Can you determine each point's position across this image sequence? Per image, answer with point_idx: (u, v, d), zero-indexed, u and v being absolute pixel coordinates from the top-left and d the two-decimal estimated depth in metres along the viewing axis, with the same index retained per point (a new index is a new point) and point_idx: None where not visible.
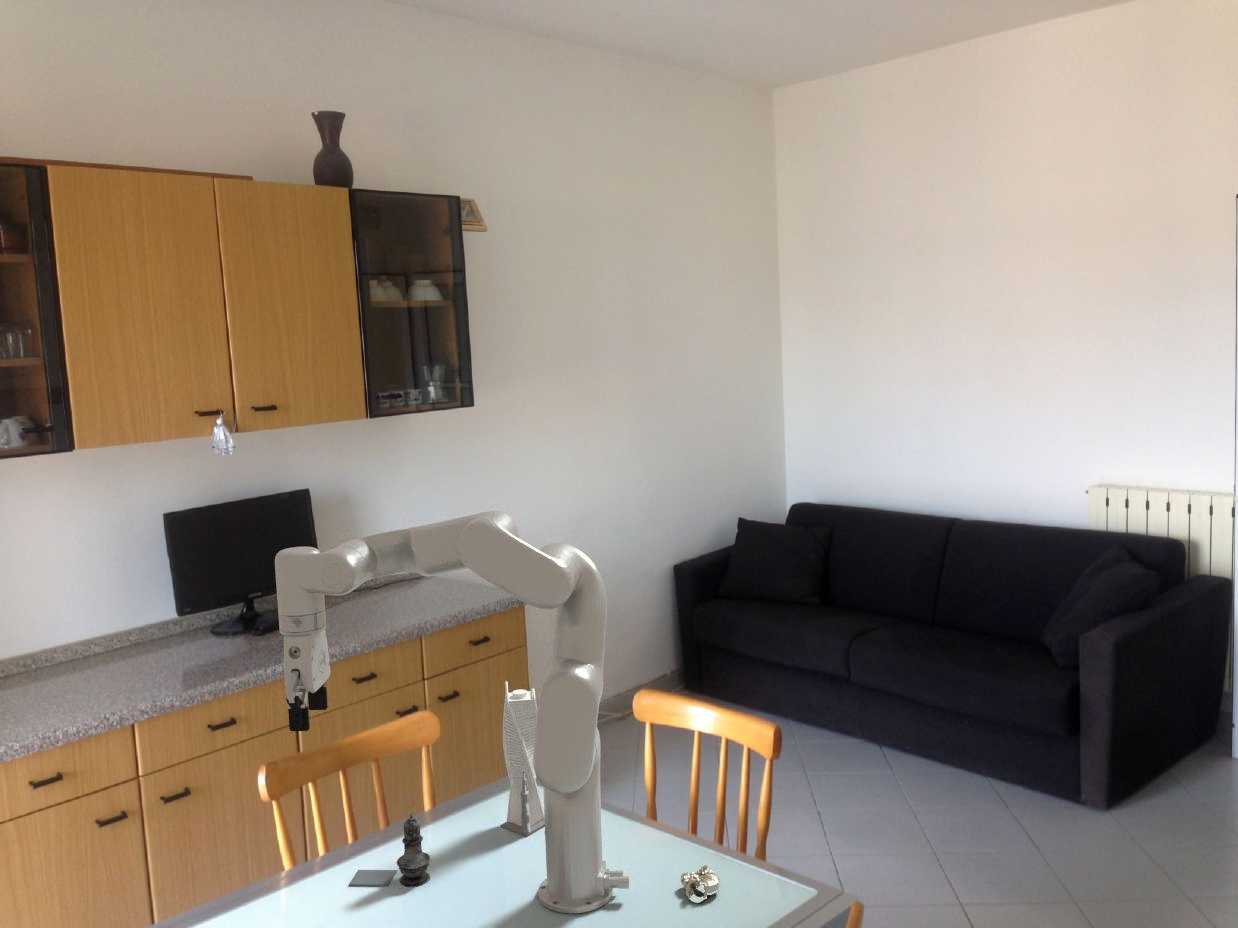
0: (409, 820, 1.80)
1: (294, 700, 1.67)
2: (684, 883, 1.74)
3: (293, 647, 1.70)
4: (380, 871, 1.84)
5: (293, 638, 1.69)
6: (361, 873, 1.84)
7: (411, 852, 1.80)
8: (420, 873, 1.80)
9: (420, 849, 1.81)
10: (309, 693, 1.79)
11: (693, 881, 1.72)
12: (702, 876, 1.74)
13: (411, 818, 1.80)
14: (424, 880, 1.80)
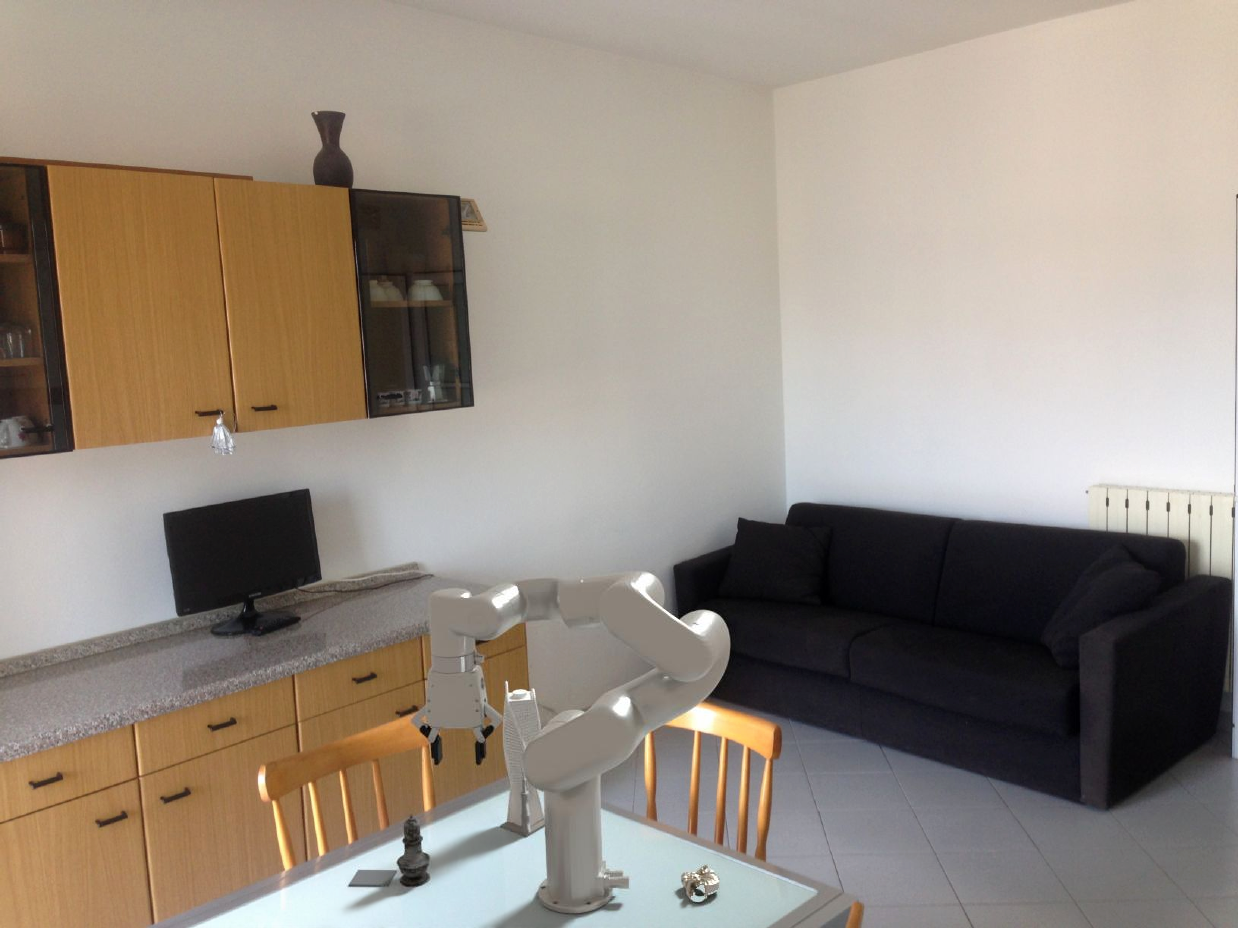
0: (409, 820, 1.80)
1: None
2: (684, 883, 1.74)
3: None
4: (380, 871, 1.84)
5: (479, 671, 1.76)
6: (361, 873, 1.84)
7: (411, 852, 1.80)
8: (420, 873, 1.80)
9: (420, 849, 1.81)
10: (438, 747, 1.77)
11: (693, 881, 1.72)
12: (702, 876, 1.74)
13: (411, 818, 1.80)
14: (424, 880, 1.80)
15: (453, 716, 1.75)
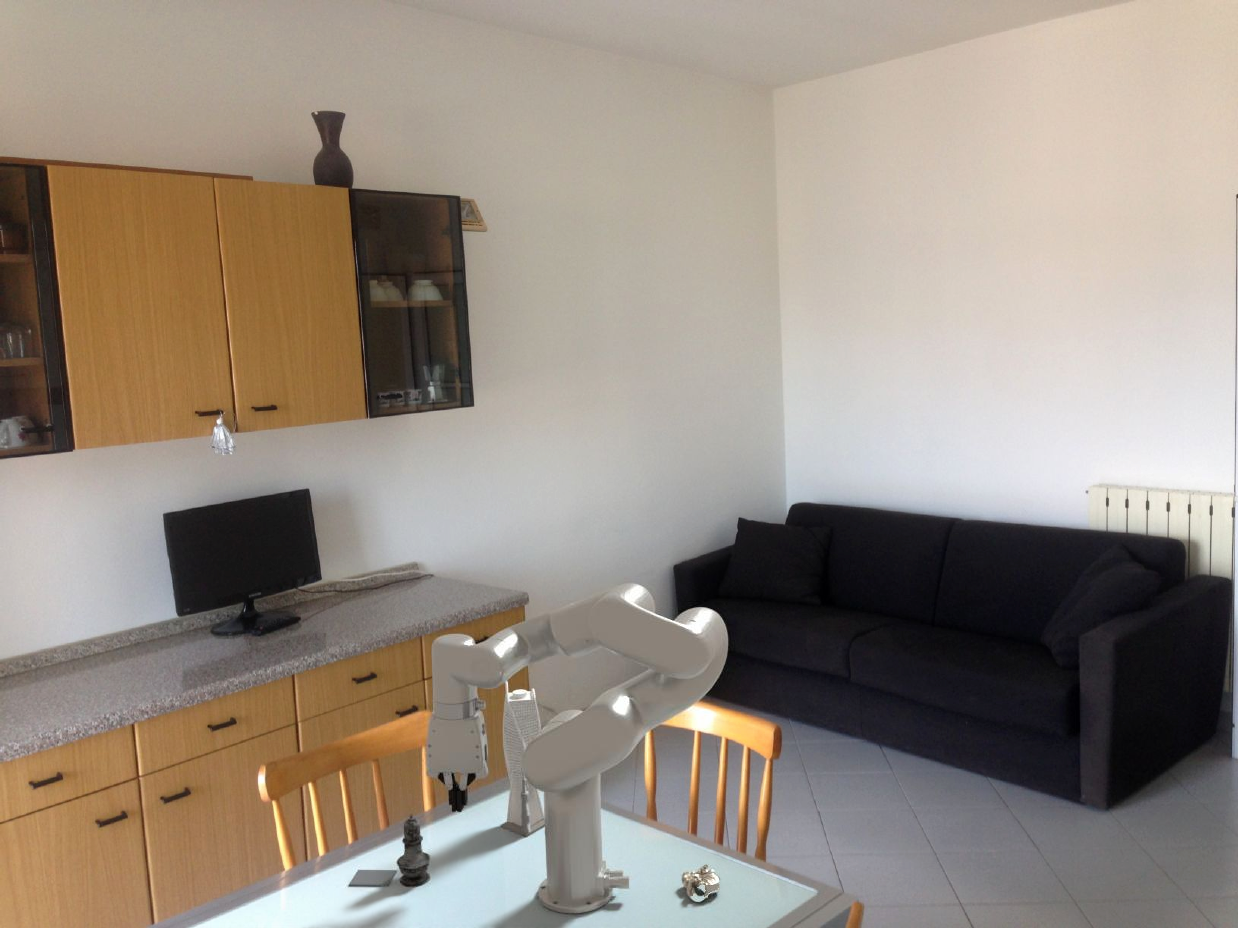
0: (409, 820, 1.80)
1: None
2: (685, 882, 1.74)
3: None
4: (380, 871, 1.84)
5: (480, 717, 1.77)
6: (361, 873, 1.84)
7: (411, 852, 1.80)
8: (420, 873, 1.80)
9: (420, 849, 1.81)
10: None
11: (694, 880, 1.72)
12: (703, 875, 1.75)
13: (411, 818, 1.80)
14: (424, 880, 1.80)
15: (454, 761, 1.76)
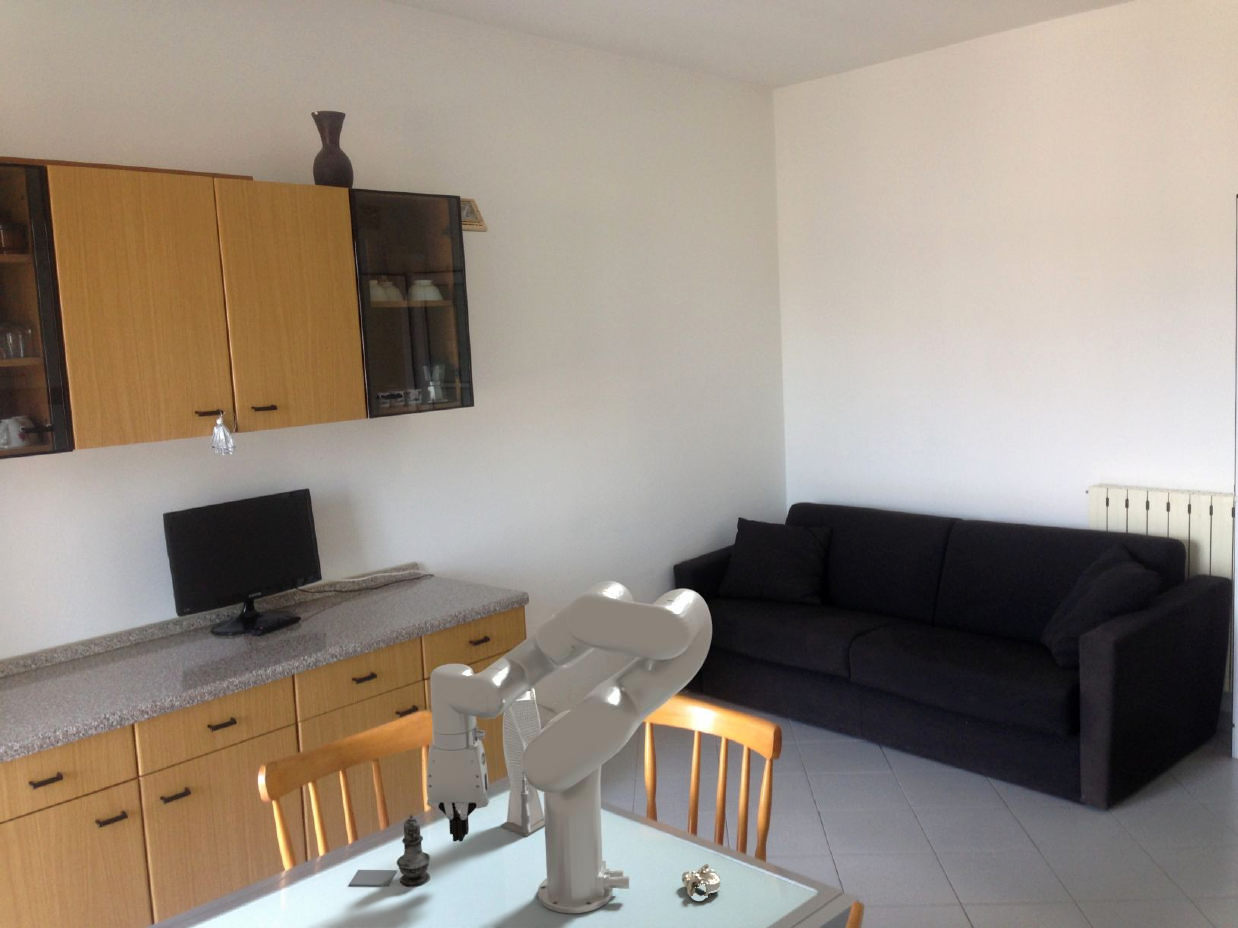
0: (409, 820, 1.80)
1: None
2: (685, 882, 1.74)
3: None
4: (380, 871, 1.84)
5: (480, 746, 1.78)
6: (361, 873, 1.84)
7: (411, 852, 1.80)
8: (420, 873, 1.80)
9: (420, 849, 1.81)
10: None
11: (695, 880, 1.72)
12: (703, 875, 1.75)
13: (411, 818, 1.80)
14: (424, 880, 1.80)
15: (454, 791, 1.77)
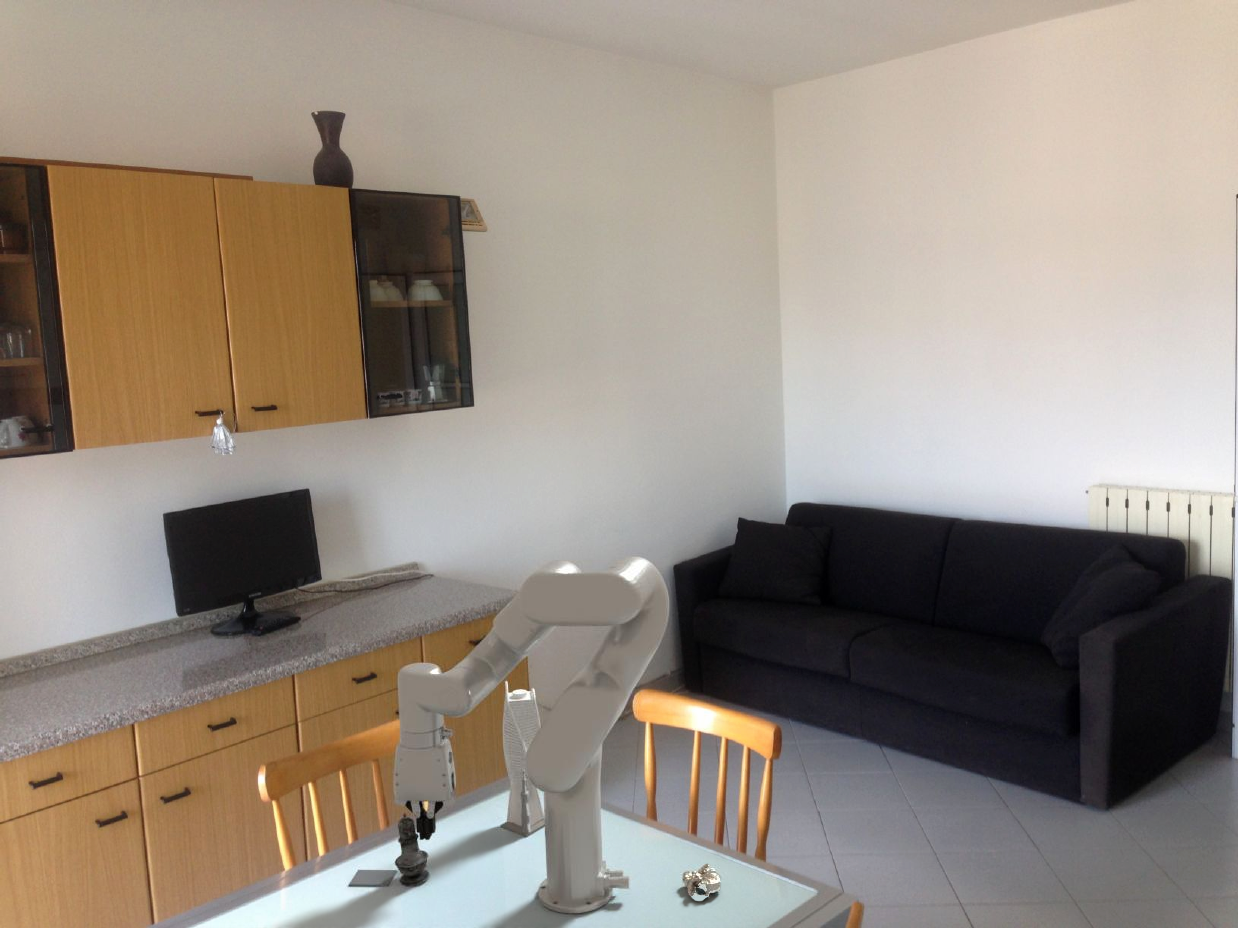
0: (403, 819, 1.80)
1: None
2: (686, 881, 1.75)
3: None
4: (380, 871, 1.84)
5: (447, 745, 1.78)
6: (361, 873, 1.84)
7: (408, 851, 1.80)
8: (419, 871, 1.80)
9: (417, 847, 1.81)
10: (423, 822, 1.79)
11: (695, 879, 1.72)
12: (704, 874, 1.75)
13: (405, 817, 1.80)
14: (423, 878, 1.80)
15: (421, 789, 1.77)
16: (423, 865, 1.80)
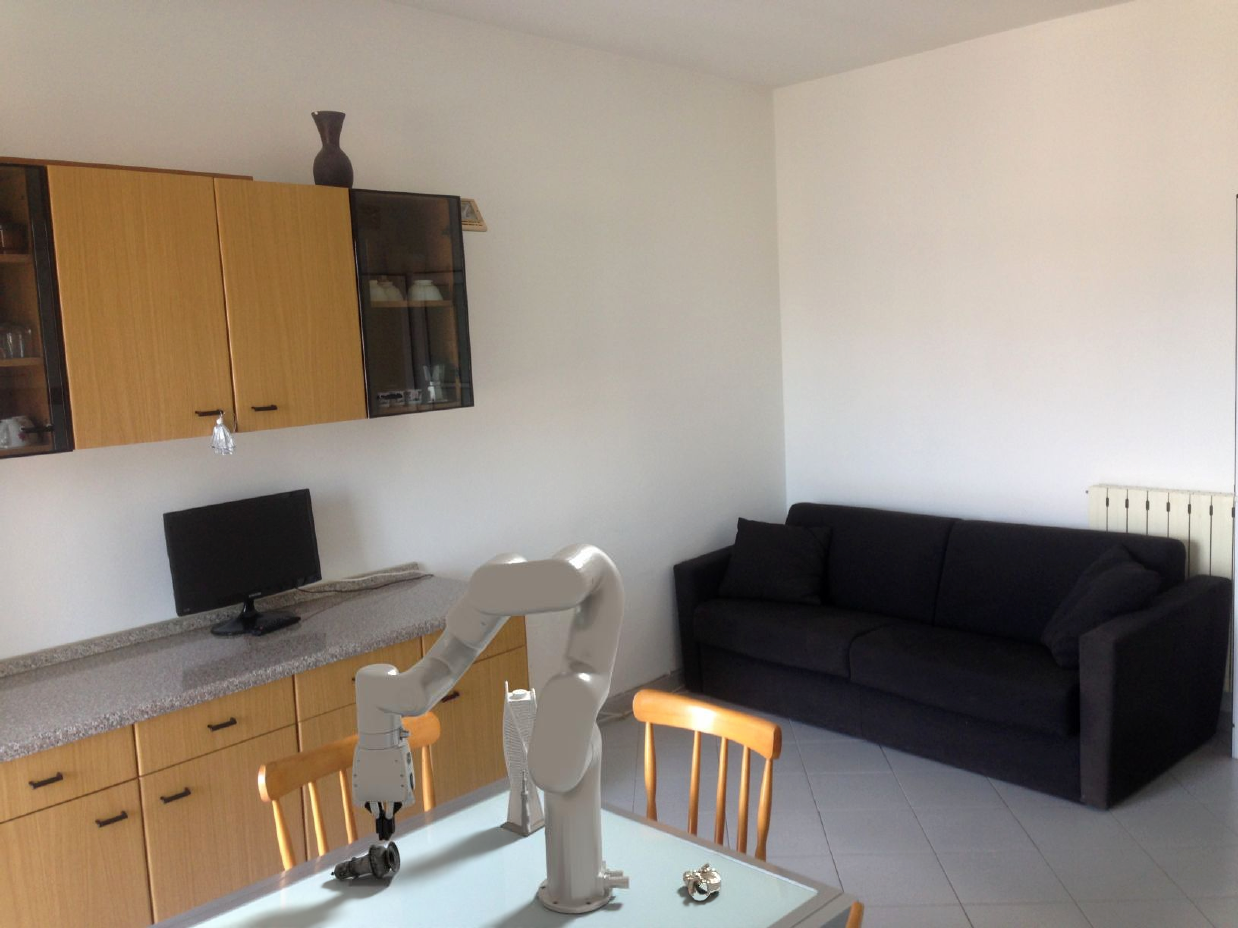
0: (335, 874, 1.82)
1: None
2: (686, 881, 1.75)
3: None
4: None
5: (405, 746, 1.79)
6: None
7: (361, 868, 1.80)
8: (378, 856, 1.80)
9: (361, 858, 1.81)
10: (382, 823, 1.80)
11: (696, 879, 1.73)
12: (704, 874, 1.75)
13: (333, 873, 1.82)
14: (387, 850, 1.80)
15: (379, 790, 1.78)
16: (374, 851, 1.80)
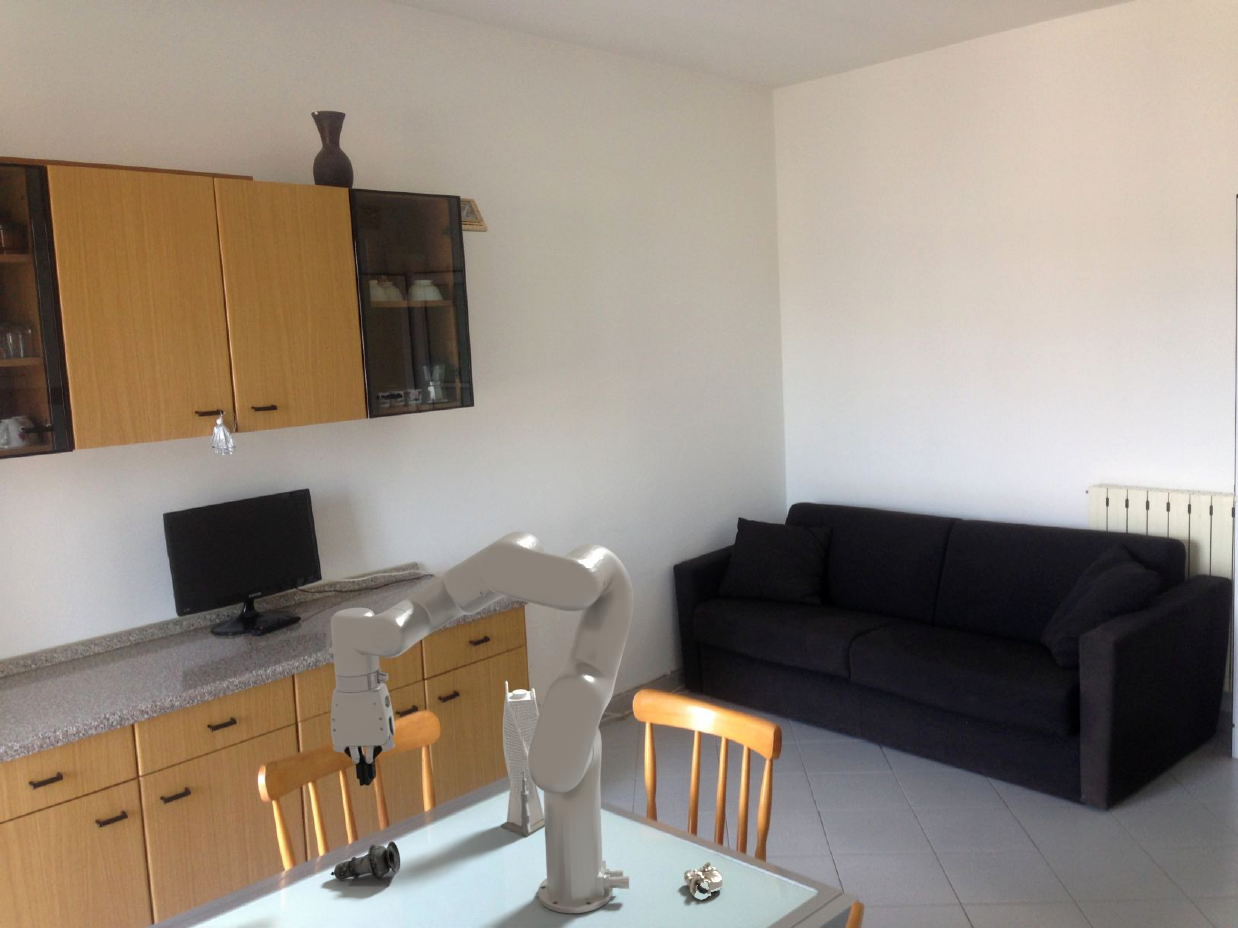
0: (335, 874, 1.82)
1: None
2: (688, 880, 1.75)
3: None
4: None
5: (383, 689, 1.78)
6: None
7: (361, 868, 1.80)
8: (378, 856, 1.80)
9: (361, 858, 1.81)
10: None
11: (697, 878, 1.73)
12: (706, 873, 1.75)
13: (333, 873, 1.82)
14: (387, 850, 1.80)
15: (358, 734, 1.77)
16: (374, 851, 1.80)
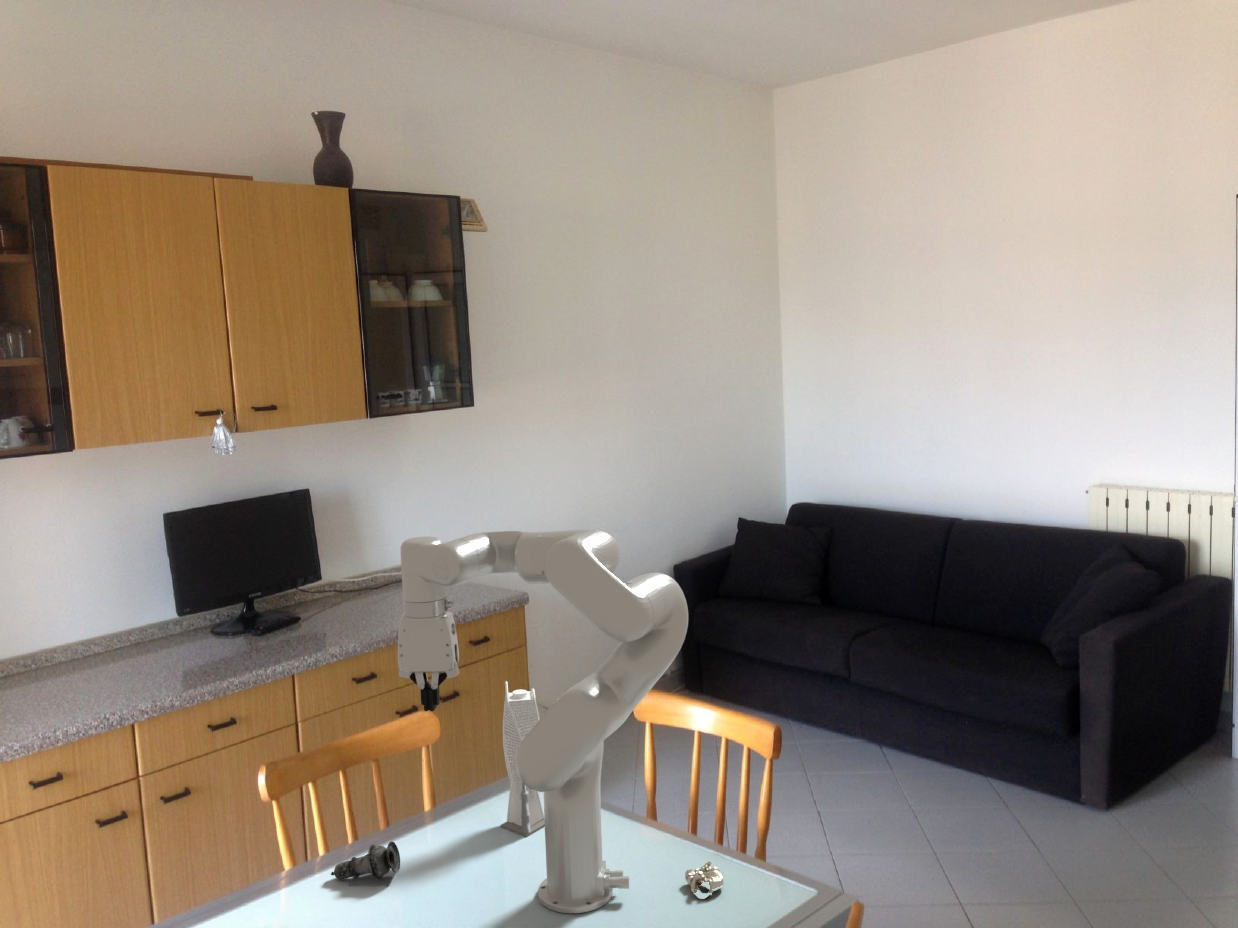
0: (335, 874, 1.82)
1: None
2: (689, 880, 1.75)
3: None
4: None
5: (450, 617, 1.81)
6: None
7: (361, 868, 1.80)
8: (378, 856, 1.80)
9: (361, 858, 1.81)
10: None
11: (698, 877, 1.73)
12: (707, 872, 1.76)
13: (333, 873, 1.82)
14: (387, 850, 1.80)
15: (425, 660, 1.80)
16: (374, 851, 1.80)
